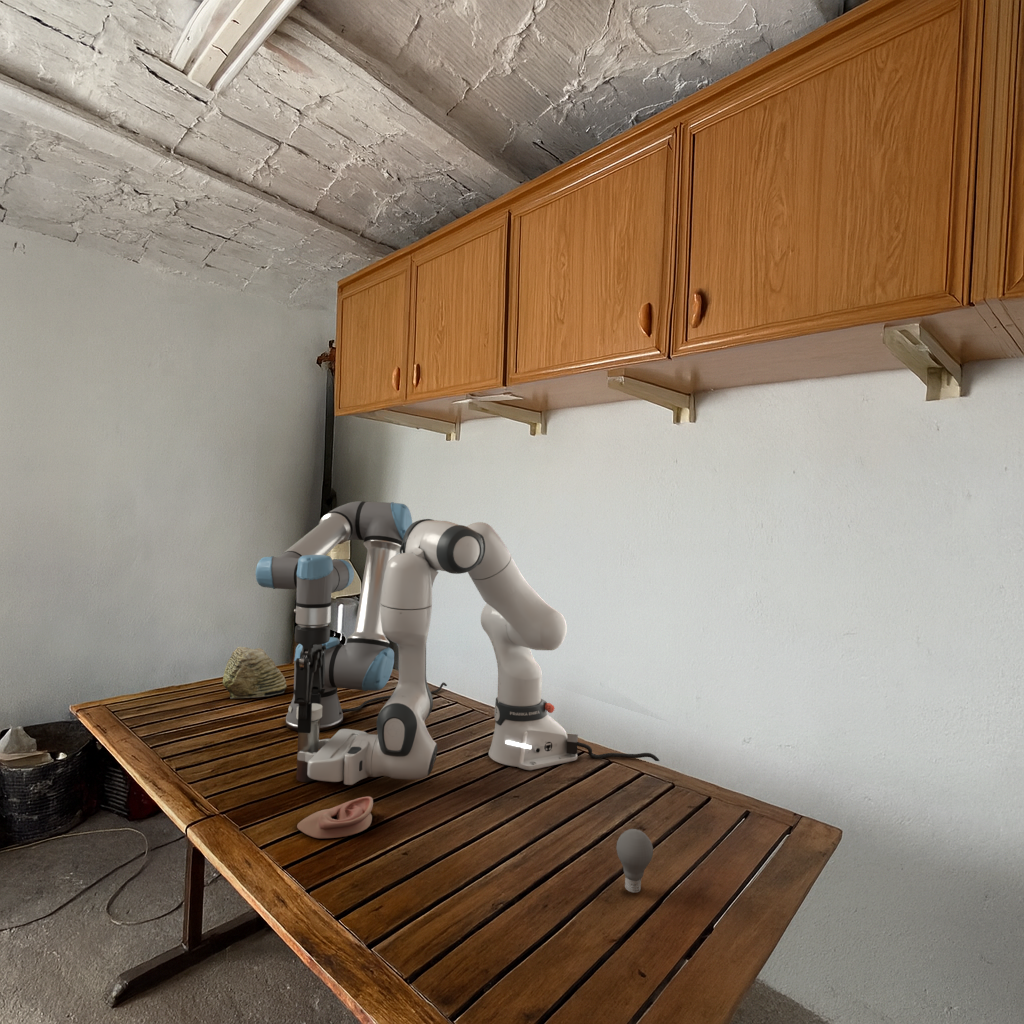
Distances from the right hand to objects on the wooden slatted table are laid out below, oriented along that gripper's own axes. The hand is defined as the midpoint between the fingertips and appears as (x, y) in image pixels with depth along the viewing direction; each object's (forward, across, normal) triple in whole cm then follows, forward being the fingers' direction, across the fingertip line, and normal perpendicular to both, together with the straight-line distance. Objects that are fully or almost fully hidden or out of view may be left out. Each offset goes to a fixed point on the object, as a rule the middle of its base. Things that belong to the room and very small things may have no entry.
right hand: (304, 749), depth 142 cm
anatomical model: (-14, +19, +6) cm, 24 cm away
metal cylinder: (-1, 0, +6) cm, 6 cm away
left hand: (-1, 0, -5) cm, 5 cm away
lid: (-1, 0, -9) cm, 9 cm away
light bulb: (-70, +31, +6) cm, 77 cm away
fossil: (+38, -53, +6) cm, 65 cm away
